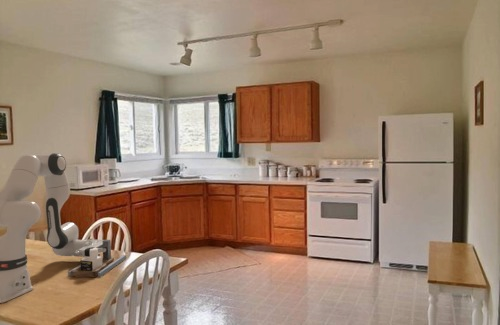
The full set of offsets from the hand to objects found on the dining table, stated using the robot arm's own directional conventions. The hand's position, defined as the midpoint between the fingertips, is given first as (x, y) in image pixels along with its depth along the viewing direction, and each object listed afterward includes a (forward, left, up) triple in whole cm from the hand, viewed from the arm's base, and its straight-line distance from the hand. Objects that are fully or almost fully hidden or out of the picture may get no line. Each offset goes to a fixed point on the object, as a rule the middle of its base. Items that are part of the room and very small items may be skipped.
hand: (108, 248), depth 208 cm
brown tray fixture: (-11, +1, -7) cm, 13 cm away
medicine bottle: (-17, 0, -7) cm, 18 cm away
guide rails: (-8, +1, -7) cm, 11 cm away
